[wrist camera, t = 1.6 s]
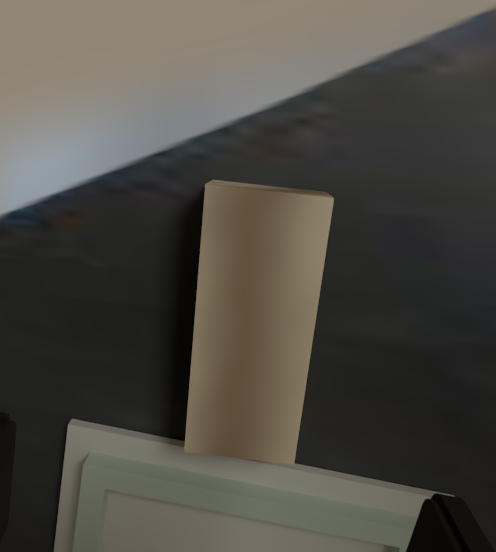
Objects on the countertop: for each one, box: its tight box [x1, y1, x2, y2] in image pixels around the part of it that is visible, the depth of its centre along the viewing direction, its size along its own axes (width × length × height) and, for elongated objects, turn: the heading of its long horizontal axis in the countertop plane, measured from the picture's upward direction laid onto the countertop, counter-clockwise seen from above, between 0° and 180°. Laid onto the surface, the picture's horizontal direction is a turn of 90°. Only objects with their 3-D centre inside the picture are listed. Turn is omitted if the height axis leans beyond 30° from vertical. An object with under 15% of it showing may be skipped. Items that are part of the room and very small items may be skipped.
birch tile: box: [184, 180, 334, 465], centre depth 21 cm, size 5×12×3 cm, turn 174°
